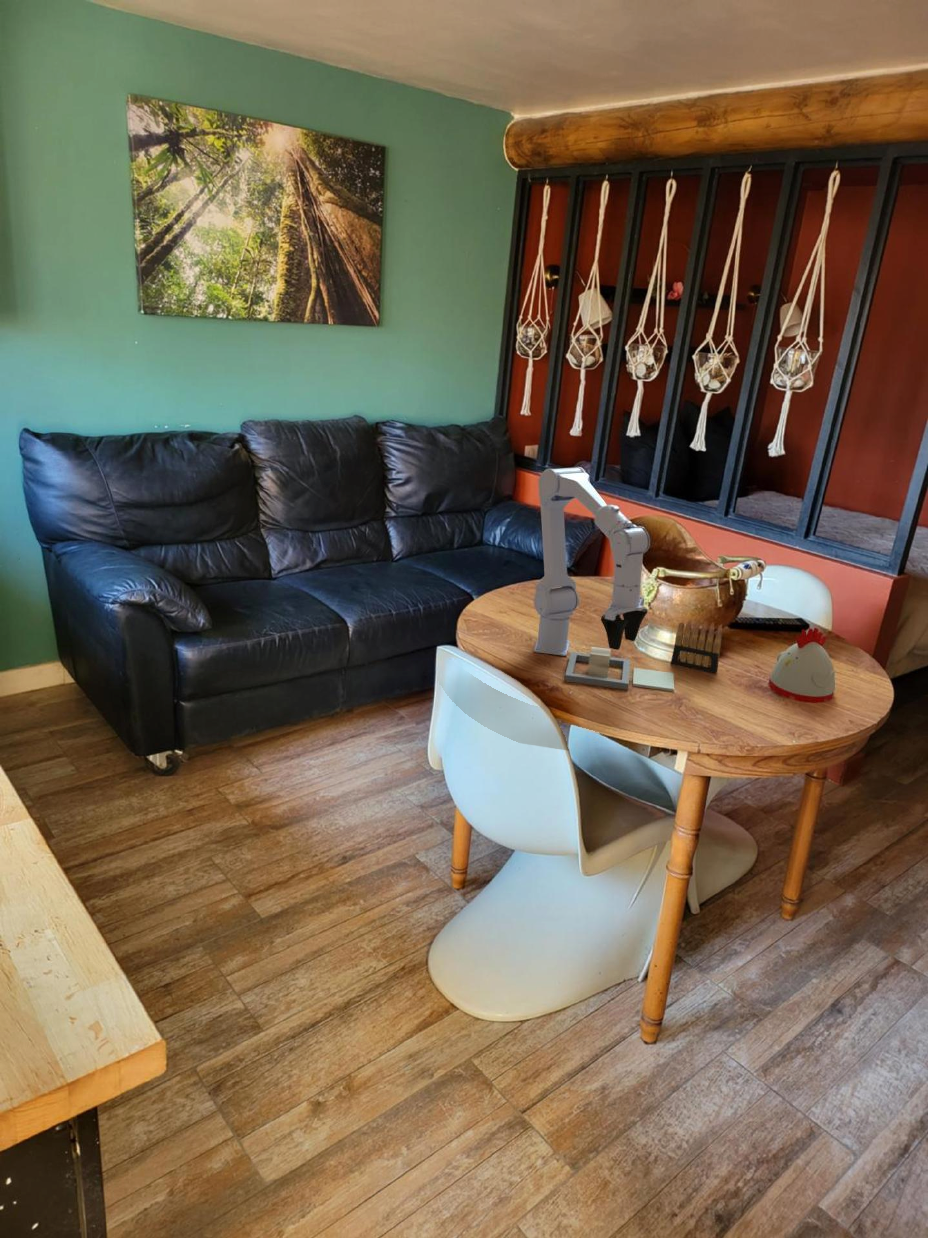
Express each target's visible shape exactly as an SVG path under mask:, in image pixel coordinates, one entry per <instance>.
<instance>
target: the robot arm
mask: <svg viewBox="0 0 928 1238" xmlns="http://www.w3.org/2000/svg"><path fill="white" fill-rule="evenodd" d="M537 480H538V483H537V484H538V498H539V499H538V500H539V504H540V518H541V534H542V535H541V536H542V550H543V555H542V556H543V568H544V569H543V571H544V576H543V577H542V578H541V579H540V580H539V581H538V582H537V583H536V584H535V593H534V598H533V605H534V606H533V607H534V609H535V611H536V612H537V614H538V615H539V619H538V620H539V621H538V622H539V624H538V632H537V640H536V642H535V646H534V648H533V653H538V654H539V653H541V654H545V655H546V654H547V655H556V656H562V657H567V655H568V652H569V647H570V643H571V641H570V640H568V639H569V638H568V637H569V629H570V619H571V618H570V617H571V616H573V614H574V611H576V610H578V607H579V603H580V596H579V594H578V591H577V583H576V581H575V580H574V579H573V578H572V577H570V576H569V574H568V567H567V549H566V544H567V543H566V528H565V527H566V525H565V508H566V507H567V505H569V503H570V502H571V501H574V499H577V501H578V502H580V504H581V505H583V506H584V507H585V508H586V509H587V510H588V511H589V512H590V513H592V515H594V519H593V520H594V524H595V525H596V527H597V528H598V529H599V530H600V531H601V533H603V534H604V535H605V536H606V538H607V539H608V540H609V547H610V550H611V553H612V561H613V563H614V567H613V568H614V569H613V571H614V573H613V586H612V599H611V602H610V604H609V607H608V608H607V609H605V614H603V615H601V616H600V621H601V623H602V625H603V627H604V630H605V632H606V637H607V642H608V643H607V644H608V647H609V648H608V649H611V650H617V651H618V650H620V648H621V644H622V640H623V635H624V639H625V640H626V641H631V642H635V641H636V639H637V636H638V633H639V631H640V630H639V629H640V628H641V627H640V626H641V625H642V622H643V620H644V618H645V617H646V615H647V614H648V608H645V606H644V605H645V604H644V603H645V597H642V596H640V595H641V584H642V572H643V561H644V560H643V558H644V554H645V553H647V552H648V550H649V548H650V547H651V537H650V535H649V533H648V531H647V529H646V528H645V527H644V526H640V525H638V526H637V525H636V524H633V522H632V521H631V520H629V518H627V517H626V516H625V515H624V514H623V513H622V511H621V509H620V507H619V506H618V505H615V504H607V503H606V502H605V500H604V499H603V497H601V495H600V494H599V493H598V491H597V490H596V489H595V487H594V486H593V485H592V484H591V482H590V474H588V473H587V472H586V470H585V469H584V468H583V467H580V466H575V467H564V468H546V469H545V470H544V471H542V473H541V475H540V476H539V478H538V479H537ZM621 616H622V617H623V619H622V617H621Z"/></svg>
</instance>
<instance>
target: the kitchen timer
mask: <svg viewBox="0 0 928 1238" xmlns="http://www.w3.org/2000/svg"><path fill="white" fill-rule="evenodd" d="M813 628H814V629H813ZM813 628H809V629H808V631H807V630H805V629H802V630H801V633H800V636H799V635H797V634H796V635H795V640H796V643H793V645H791V646H790V647H788V648H787V649H786V650H784V651H781V652H780V653H779V654H777V657H776V663H775V665H774V666H773V668H772V671H771V673H770V676H769V680H768V686H769V688H770V689H771V690H772V691H774V692H775V693H777V694H778V695H780V696H782V697H783V698H784V697H785V698H786V699H790V700H793V701H797V702H802V703H810V704H820V703H821V704H823V703H826V702H827V703H828V702H829V701H831V700H833V697H834V693H835V689H836V676H835V671H834V669H835V668H834V666H833V662H832V659H831V657H830V655H829V653H828V652H827V650H826V649H825V648H824V647H823V646H824V644H825V642H826V641H827V639H828V638H827V636H825V635H824V632H822V631H819V628H817V627H813Z"/></svg>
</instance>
